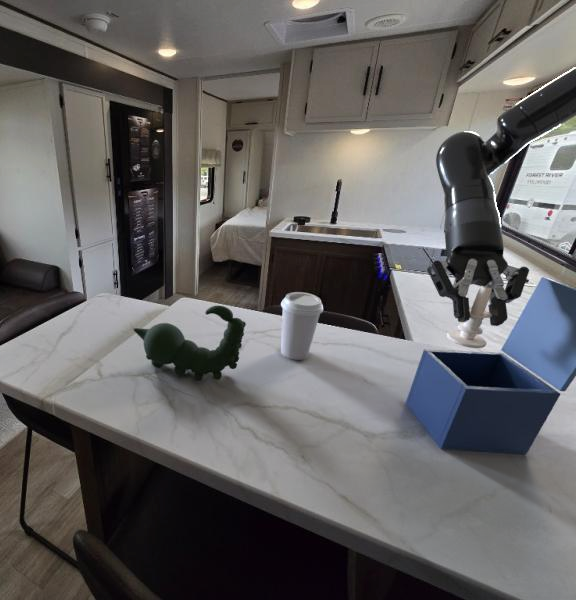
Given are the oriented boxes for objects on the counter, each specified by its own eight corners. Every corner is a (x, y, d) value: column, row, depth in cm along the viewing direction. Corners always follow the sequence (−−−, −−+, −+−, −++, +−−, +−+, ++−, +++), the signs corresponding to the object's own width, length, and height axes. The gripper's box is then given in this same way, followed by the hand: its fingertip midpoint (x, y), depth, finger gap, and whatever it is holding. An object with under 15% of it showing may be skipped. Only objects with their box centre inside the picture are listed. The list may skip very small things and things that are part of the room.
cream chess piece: (474, 334, 60) (496, 279, 56) (492, 350, 55) (518, 291, 51) (441, 331, 61) (460, 277, 57) (456, 346, 56) (477, 288, 52)
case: (440, 449, 58) (466, 388, 53) (405, 403, 69) (423, 349, 64) (526, 454, 57) (561, 393, 52) (477, 407, 68) (501, 352, 62)
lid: (618, 306, 46) (624, 306, 46) (541, 276, 56) (546, 277, 56) (559, 391, 52) (565, 391, 52) (500, 350, 62) (505, 350, 62)
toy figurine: (237, 374, 81) (140, 348, 87) (251, 302, 72) (143, 280, 79) (229, 399, 72) (123, 369, 79) (244, 322, 64) (125, 295, 71)
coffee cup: (298, 340, 92) (306, 288, 85) (322, 359, 83) (334, 303, 77) (267, 346, 89) (274, 293, 83) (289, 366, 81) (298, 309, 74)
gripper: (435, 217, 59) (440, 309, 53) (537, 221, 55) (554, 321, 49) (416, 240, 66) (419, 324, 60) (506, 244, 62) (519, 335, 56)
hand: (480, 322), depth 55 cm, fingers closed on cream chess piece, 4 cm apart
